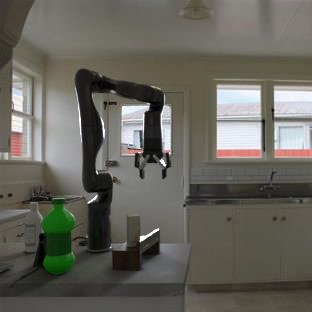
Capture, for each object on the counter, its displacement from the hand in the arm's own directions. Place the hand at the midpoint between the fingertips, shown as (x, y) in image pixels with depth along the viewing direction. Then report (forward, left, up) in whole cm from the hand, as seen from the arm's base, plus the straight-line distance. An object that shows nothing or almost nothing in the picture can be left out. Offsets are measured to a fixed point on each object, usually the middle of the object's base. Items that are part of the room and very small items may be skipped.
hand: (153, 178), depth 143 cm
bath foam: (-44, -28, -30) cm, 60 cm away
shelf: (+1, -8, -30) cm, 31 cm away
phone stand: (-19, -32, -30) cm, 48 cm away
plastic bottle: (-8, -33, -30) cm, 45 cm away
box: (+3, -11, -24) cm, 26 cm away
